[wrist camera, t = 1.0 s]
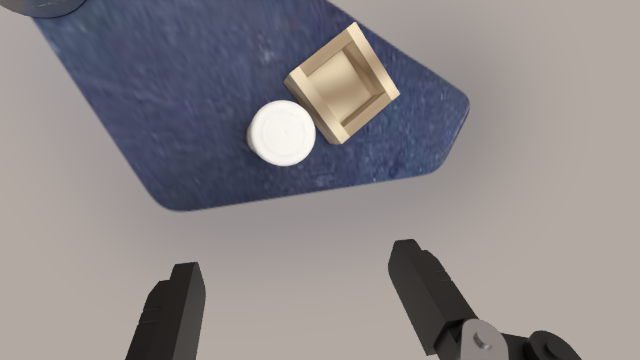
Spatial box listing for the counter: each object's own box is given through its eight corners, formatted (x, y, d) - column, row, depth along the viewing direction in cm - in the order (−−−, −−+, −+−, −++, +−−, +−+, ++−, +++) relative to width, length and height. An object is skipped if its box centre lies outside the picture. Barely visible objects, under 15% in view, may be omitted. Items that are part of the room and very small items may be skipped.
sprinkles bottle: (293, 141, 33) (329, 141, 20) (262, 164, 32) (278, 180, 19) (269, 108, 31) (291, 85, 19) (236, 131, 31) (236, 125, 18)
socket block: (283, 81, 31) (289, 73, 28) (341, 35, 32) (355, 21, 29) (329, 143, 34) (341, 144, 30) (382, 99, 35) (400, 93, 31)
